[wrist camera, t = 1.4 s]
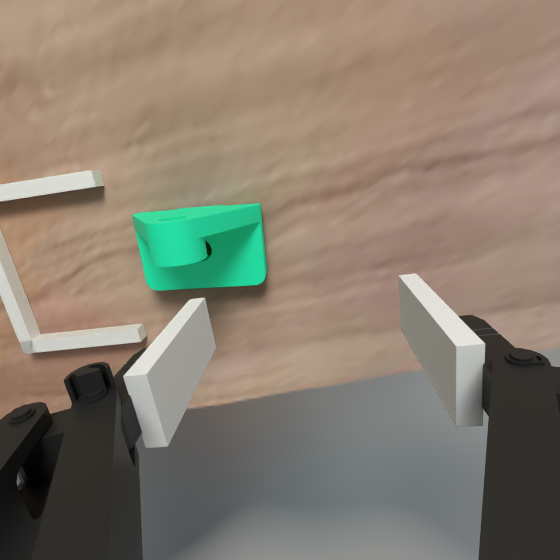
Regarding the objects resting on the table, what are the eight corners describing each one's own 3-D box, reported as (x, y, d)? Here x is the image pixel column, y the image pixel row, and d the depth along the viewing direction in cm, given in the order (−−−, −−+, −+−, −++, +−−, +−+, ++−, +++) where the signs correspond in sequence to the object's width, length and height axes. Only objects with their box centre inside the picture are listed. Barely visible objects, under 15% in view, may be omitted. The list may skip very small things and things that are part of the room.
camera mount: (158, 282, 38) (107, 323, 29) (144, 211, 36) (83, 228, 26) (269, 276, 37) (255, 316, 27) (261, 202, 35) (244, 216, 25)
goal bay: (99, 169, 35) (90, 170, 33) (146, 335, 40) (141, 341, 39) (-28, 190, 36) (-42, 191, 35) (33, 347, 42) (24, 353, 40)
